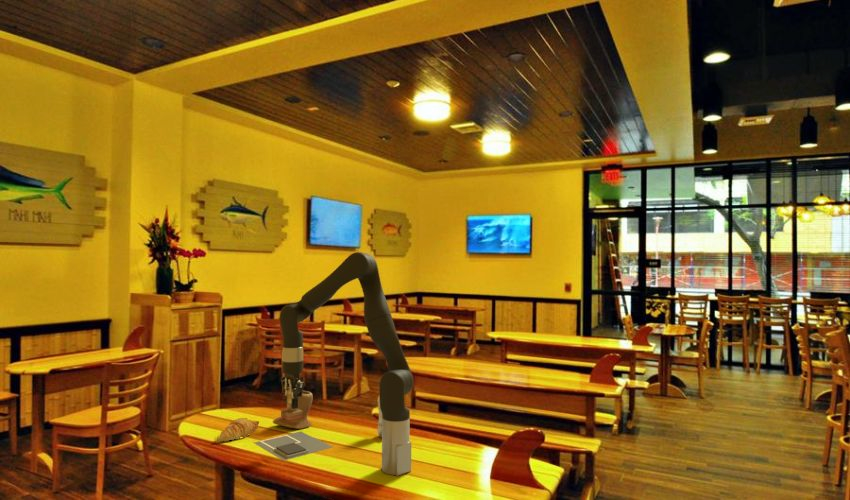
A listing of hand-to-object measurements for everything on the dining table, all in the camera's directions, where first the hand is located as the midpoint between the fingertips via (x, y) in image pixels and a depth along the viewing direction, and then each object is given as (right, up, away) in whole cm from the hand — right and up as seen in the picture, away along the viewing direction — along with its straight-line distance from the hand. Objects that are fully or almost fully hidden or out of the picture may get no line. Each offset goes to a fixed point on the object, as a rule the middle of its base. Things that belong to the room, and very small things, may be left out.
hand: (291, 407), depth 186 cm
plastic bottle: (+32, -18, +19) cm, 41 cm away
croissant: (-26, -18, +19) cm, 37 cm away
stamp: (0, -3, 0) cm, 3 cm away
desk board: (-1, -17, +7) cm, 18 cm away
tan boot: (-7, -18, +32) cm, 37 cm away
